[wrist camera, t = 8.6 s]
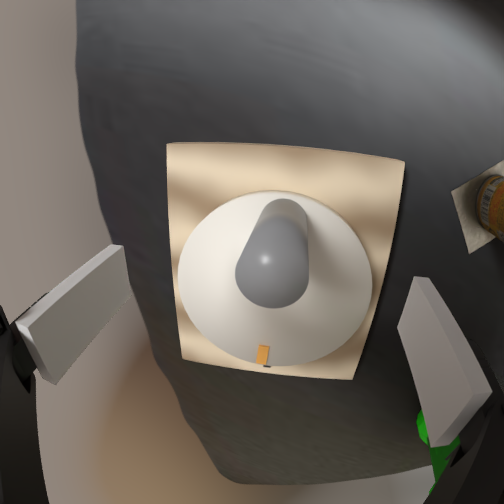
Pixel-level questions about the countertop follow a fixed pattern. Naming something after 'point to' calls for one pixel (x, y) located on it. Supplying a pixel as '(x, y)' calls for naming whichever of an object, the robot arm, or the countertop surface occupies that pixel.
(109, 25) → the countertop surface
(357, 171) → the dial panel
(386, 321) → the countertop surface
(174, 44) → the countertop surface
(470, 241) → the condiment
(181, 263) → the dial
